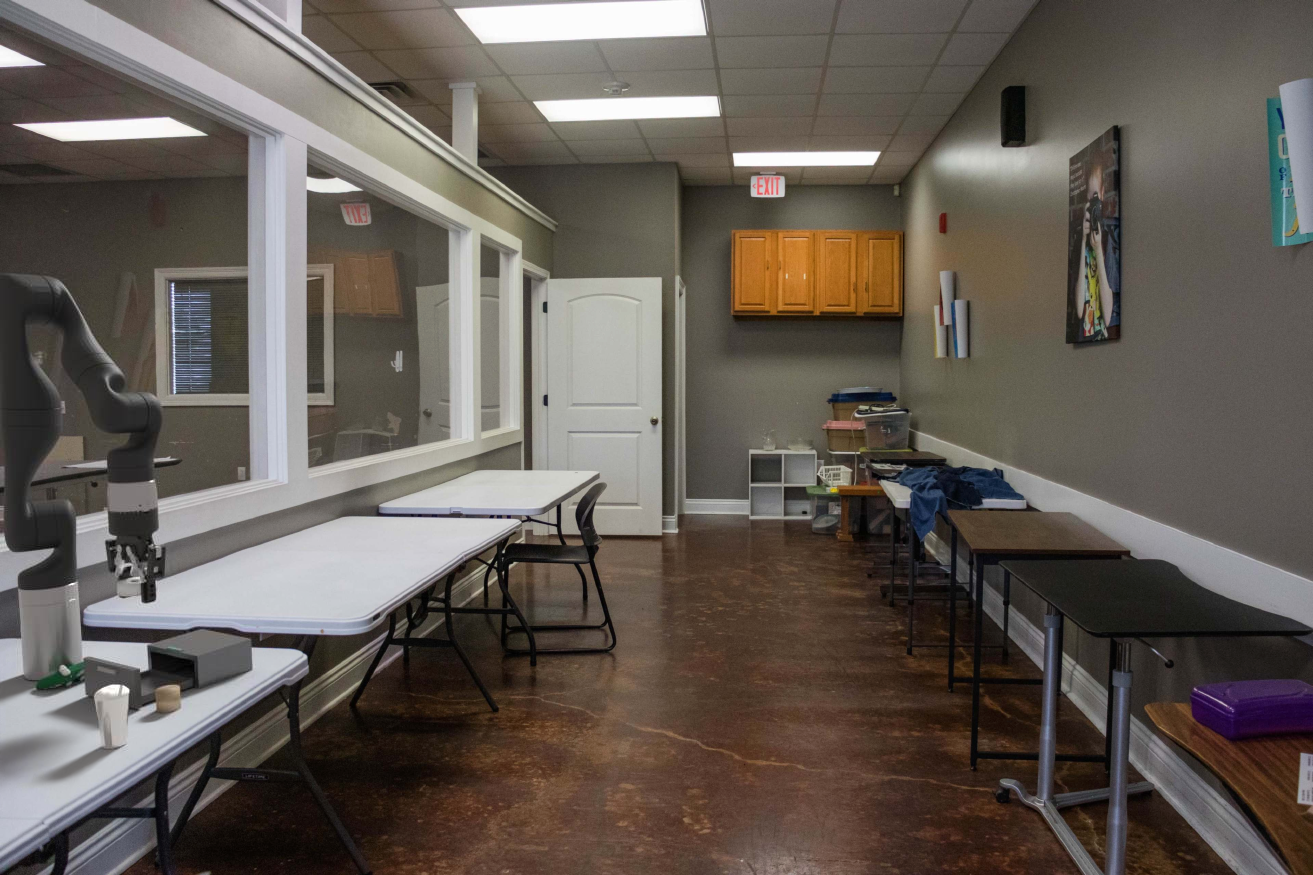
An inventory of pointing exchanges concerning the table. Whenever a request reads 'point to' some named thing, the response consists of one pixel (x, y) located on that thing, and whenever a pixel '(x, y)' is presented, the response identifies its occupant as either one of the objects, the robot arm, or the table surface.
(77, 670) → the green toy
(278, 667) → the table surface
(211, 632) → the gray drawer box
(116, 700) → the milkshake
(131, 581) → the disc
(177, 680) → the grey drawer
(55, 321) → the robot arm
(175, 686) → the tan short cylinder
